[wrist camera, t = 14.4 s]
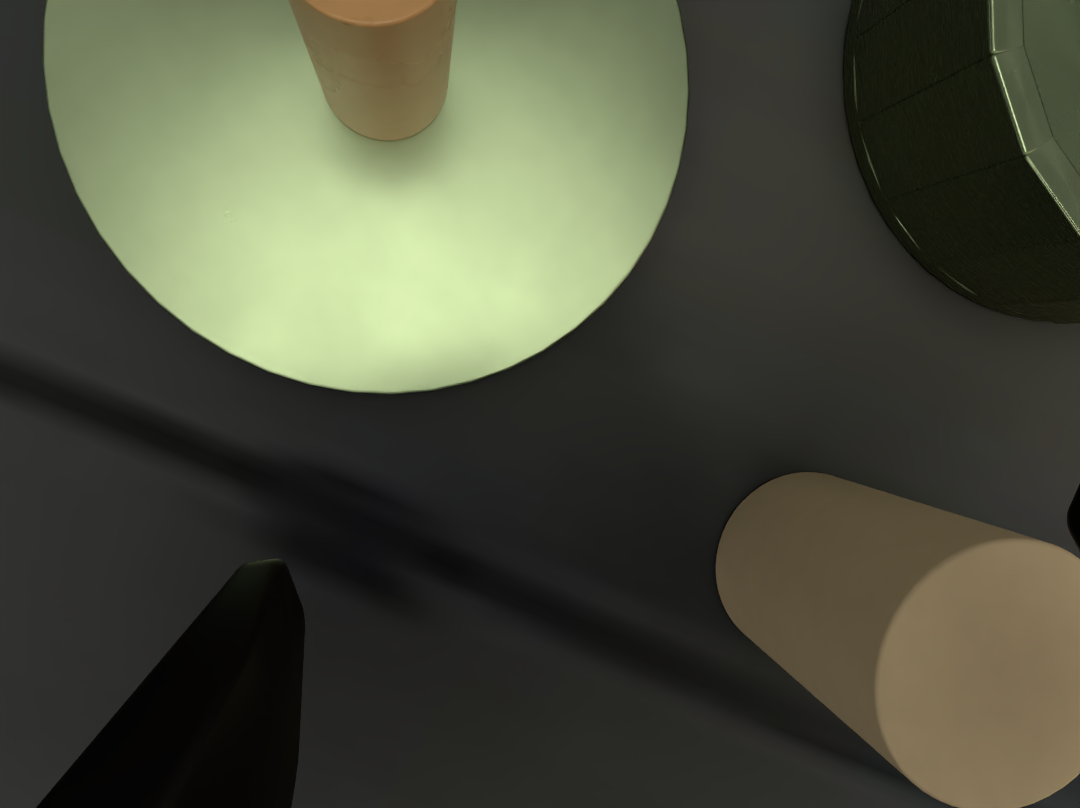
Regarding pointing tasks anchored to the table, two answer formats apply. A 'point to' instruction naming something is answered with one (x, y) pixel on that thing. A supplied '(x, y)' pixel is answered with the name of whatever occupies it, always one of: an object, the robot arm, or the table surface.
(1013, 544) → the candle
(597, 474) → the table surface
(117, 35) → the lid
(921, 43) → the tin
